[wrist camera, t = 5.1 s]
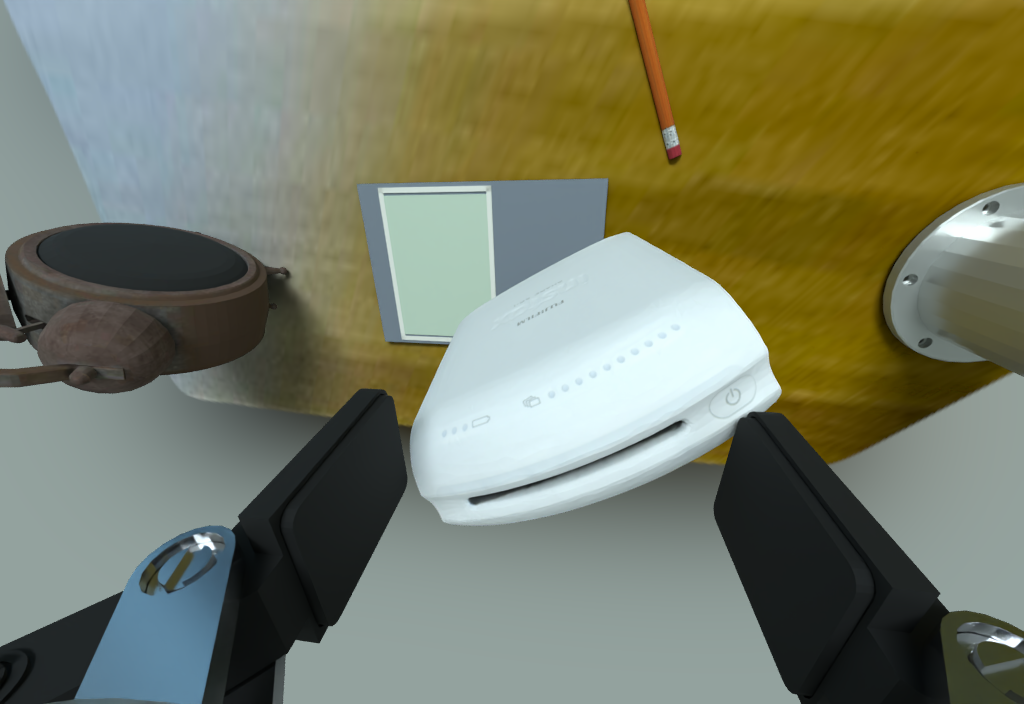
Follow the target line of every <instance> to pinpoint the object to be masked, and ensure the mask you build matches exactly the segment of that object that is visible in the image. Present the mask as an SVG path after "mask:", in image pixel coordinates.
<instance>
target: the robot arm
mask: <svg viewBox="0 0 1024 704" xmlns="http://www.w3.org/2000/svg"><path fill="white" fill-rule="evenodd" d="M883 312H884V316H885V320H886V323H887V325H888V327H889V329H890V330H891V332H892V334H893V335H894V336H895V337H896V338H897V339H898V340H899V341H900V342H901V343H902V344H904V345H905V346H907V347H909V348H911V349H912V350H914V351H916V352H918V353H920V354H922V355H925V356H927V357H930V358H932V359H937V360H942V361H947V362H965V363H967V362H978V361H987V360H989V361H991V362H993V363H995V364H997V365H999V366H1002V367H1004V368H1006V369H1008V370H1010V371H1012V372H1014V373H1017V374H1019V375H1021V376H1023V377H1024V183H1019V184H1013V185H1008V186H1004V187H1001V188H997V189H994V190H991V191H988V192H985V193H982V194H980V195H978V196H976V197H974V198H971V199H969V200H967V201H965V202H963V203H961V204H959V205H957V206H956V207H954V208H953V209H951V210H949V211H948V212H946V213H945V214H943V215H942V216H940V217H938V218H937V219H936V220H935V221H934V222H932V223H931V224H930V225H929V226H927V227H926V228H925V229H924V230H923V231H921V232H920V233H919V234H918V235H917V237H916V238H915V239H914V240H913V241H912V242H911V243H910V244H909V245H908V246H907V247H906V248H905V250H904V251H903V253H902V254H901V256H900V257H899V259H898V260H897V262H896V263H895V264H894V267H893V269H892V271H891V273H890V275H889V277H888V279H887V282H886V287H885V291H884V295H883ZM406 485H407V472H406V467H405V461H404V456H403V450H402V444H401V439H400V433H399V427H398V422H397V416H396V410H395V405H394V400H393V398H392V396H388V395H387V393H386V391H385V390H381V389H360V390H358V391H357V392H356V393H355V394H354V395H353V397H352V398H351V399H350V400H349V401H348V402H347V403H346V404H345V405H344V406H343V407H342V408H341V409H340V410H339V411H338V412H337V413H336V414H335V415H334V416H333V417H332V418H331V419H330V421H329V422H328V423H327V424H326V425H325V426H324V427H323V428H322V429H321V430H320V431H319V432H318V433H317V434H316V435H315V436H314V437H313V438H312V439H311V441H309V442H308V444H307V445H306V446H305V447H304V448H303V449H302V450H301V451H300V452H299V453H298V454H297V455H296V456H295V457H294V458H293V459H292V460H291V461H290V462H289V463H288V465H286V466H285V468H284V469H283V470H282V471H281V472H280V473H279V474H278V475H277V476H276V477H275V478H274V479H273V480H272V481H271V482H270V483H269V484H268V485H267V486H266V487H265V488H264V490H262V492H261V493H260V494H259V495H258V496H257V497H256V498H255V499H254V500H253V501H252V502H251V503H250V504H249V505H248V506H247V508H245V509H244V510H243V512H242V513H241V514H239V516H238V517H239V520H240V522H239V523H238V524H237V525H236V526H235V527H234V528H233V529H232V530H230V529H229V528H226V527H224V526H210V525H209V526H205V527H201V528H196V529H193V530H190V531H188V532H185V533H183V534H180V535H178V536H176V537H175V538H173V539H171V540H169V541H168V542H166V543H164V544H163V545H161V546H160V547H159V548H157V549H156V550H155V551H153V552H152V553H151V554H149V555H148V556H147V558H145V559H144V561H142V562H141V563H140V565H139V566H138V567H137V568H136V569H135V571H134V573H133V574H132V576H131V577H130V579H129V580H128V583H127V585H126V587H125V589H124V591H122V592H120V593H118V594H116V595H113V596H111V597H109V598H107V599H105V600H102V601H101V602H98V603H96V604H94V605H91V606H89V607H87V608H85V609H83V610H80V611H78V612H76V613H74V614H72V615H69V616H67V617H65V618H63V619H61V620H58V621H56V622H54V623H52V624H50V625H47V626H45V627H43V628H41V629H39V630H36V631H34V632H32V633H30V634H28V635H25V636H24V637H21V638H19V639H17V640H14V641H12V642H10V643H8V644H6V645H3V646H1V647H0V704H283V692H284V676H285V657H286V654H287V653H288V652H289V650H290V648H291V647H292V645H293V643H294V641H295V640H301V641H307V642H314V643H320V641H321V639H322V637H323V635H324V634H325V632H326V630H327V628H328V626H333V625H335V624H336V622H337V621H338V620H339V618H340V616H341V614H342V613H343V611H344V609H345V607H346V605H347V602H348V601H349V598H350V597H351V595H352V593H353V591H354V589H355V587H356V585H357V583H358V581H359V579H360V577H361V575H362V573H363V571H364V570H365V568H366V566H367V563H368V562H369V560H370V558H371V556H372V554H373V552H374V550H375V548H376V546H377V544H378V542H379V540H380V538H381V536H382V534H383V532H384V530H385V529H386V526H387V524H388V523H389V521H390V519H391V517H392V515H393V513H394V511H395V509H396V507H397V505H398V503H399V501H400V499H401V497H402V495H403V493H404V491H405V489H406ZM714 516H715V520H716V522H717V525H718V527H719V530H720V532H721V534H722V537H723V539H724V541H725V544H726V546H727V549H728V551H729V553H730V556H731V558H732V561H733V563H734V565H735V568H736V570H737V573H738V575H739V577H740V580H741V582H742V584H743V587H744V589H745V591H746V594H747V596H748V599H749V601H750V603H751V606H752V608H753V611H754V613H755V616H756V618H757V620H758V623H759V625H760V627H761V630H762V632H763V635H764V637H765V639H766V642H767V644H768V646H769V649H770V651H771V654H772V656H773V658H774V661H775V663H776V666H777V668H778V670H779V673H780V675H781V677H782V680H783V682H784V684H785V686H786V687H787V689H788V690H789V691H790V692H791V693H793V694H797V695H798V698H799V700H800V702H801V704H1024V631H1022V630H1020V629H1018V628H1017V627H1015V626H1013V625H1011V624H1009V623H1007V622H1004V621H1001V620H999V619H996V618H993V617H991V616H988V615H985V614H981V613H976V612H971V611H954V612H949V611H948V610H947V609H946V608H945V606H944V605H943V604H942V603H941V602H940V601H939V600H938V598H937V597H938V596H939V595H940V592H938V590H937V589H936V588H935V587H934V586H933V585H932V583H931V582H930V581H929V580H928V579H927V578H926V577H925V575H924V574H923V573H922V572H921V571H920V570H919V568H917V566H916V565H915V564H914V563H913V562H912V561H911V559H910V558H909V557H908V556H907V555H906V554H905V553H904V551H903V550H902V549H901V548H900V547H899V546H898V545H897V544H896V542H895V541H894V540H893V539H892V538H891V537H890V536H889V534H888V533H887V532H886V531H885V530H884V529H883V528H882V526H881V525H880V524H879V523H878V522H877V521H876V520H875V518H874V517H873V516H872V515H871V514H870V513H869V512H868V510H867V509H866V508H865V507H864V506H863V505H862V504H861V502H860V501H859V500H858V499H857V498H856V497H855V496H854V495H853V493H852V492H851V491H850V490H849V489H848V488H847V487H846V485H845V484H844V483H843V482H842V481H841V480H840V479H839V477H838V476H837V475H836V474H835V473H834V472H833V471H832V469H831V468H830V467H829V466H828V465H827V464H826V463H825V462H824V460H823V459H822V458H821V457H820V456H819V455H818V454H817V452H816V451H815V450H814V449H813V448H812V447H811V446H810V444H809V443H808V442H807V441H806V440H805V439H804V438H803V436H802V435H801V434H800V433H799V432H798V431H797V430H796V429H795V427H794V426H793V425H792V424H791V423H790V422H789V421H788V419H787V418H786V417H785V416H784V415H783V414H781V413H772V412H755V411H752V412H750V413H749V414H748V415H747V417H742V418H740V419H739V421H738V423H737V427H736V430H735V434H734V437H733V441H732V444H731V447H730V451H729V454H728V458H727V461H726V465H725V468H724V471H723V475H722V478H721V482H720V485H719V488H718V492H717V495H716V499H715V502H714Z"/></svg>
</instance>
